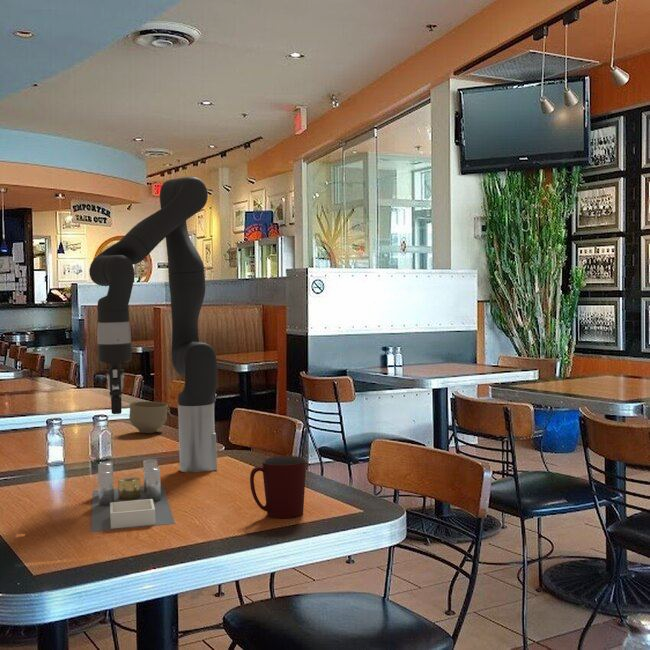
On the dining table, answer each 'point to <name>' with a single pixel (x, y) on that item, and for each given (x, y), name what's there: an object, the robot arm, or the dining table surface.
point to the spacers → (150, 482)
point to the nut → (129, 488)
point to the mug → (282, 486)
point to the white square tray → (132, 513)
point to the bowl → (148, 415)
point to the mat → (102, 513)
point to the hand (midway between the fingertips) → (116, 411)
